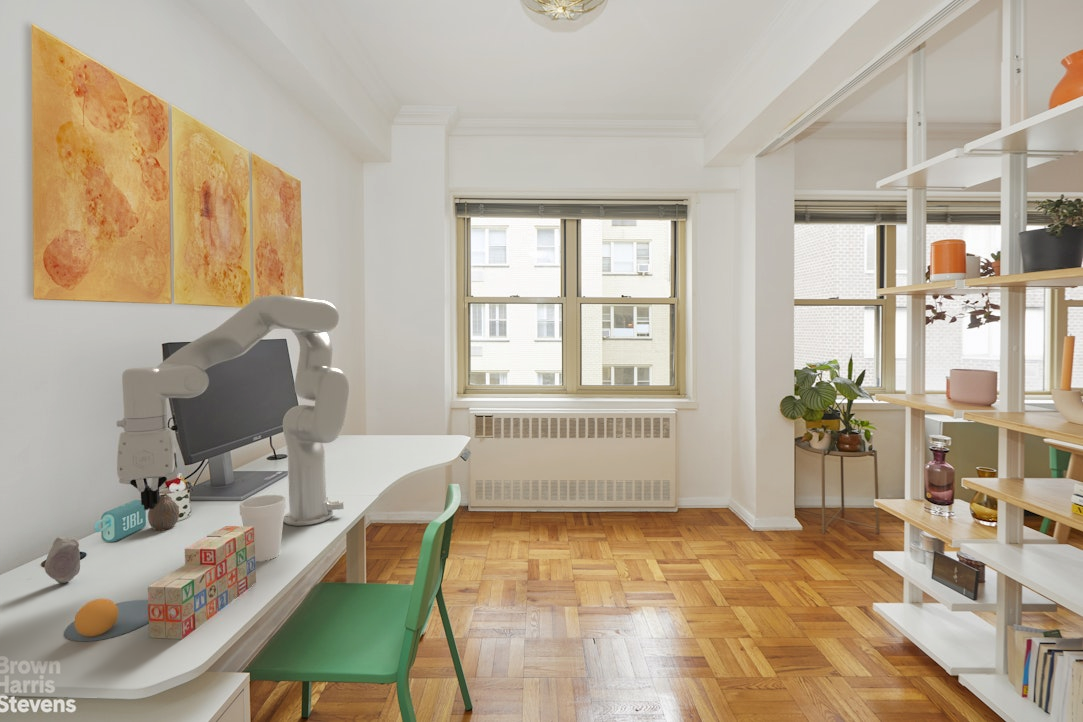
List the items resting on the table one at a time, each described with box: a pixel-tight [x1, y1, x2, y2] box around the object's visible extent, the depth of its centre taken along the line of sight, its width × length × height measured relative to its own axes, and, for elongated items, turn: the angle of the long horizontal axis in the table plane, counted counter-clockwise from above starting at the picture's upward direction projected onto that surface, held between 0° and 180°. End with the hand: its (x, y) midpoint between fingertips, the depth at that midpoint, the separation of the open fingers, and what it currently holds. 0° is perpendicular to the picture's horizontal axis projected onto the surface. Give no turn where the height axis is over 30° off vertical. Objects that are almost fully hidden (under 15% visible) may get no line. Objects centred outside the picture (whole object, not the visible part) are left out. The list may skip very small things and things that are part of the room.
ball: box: [74, 598, 119, 637], centre depth 97 cm, size 6×6×6 cm
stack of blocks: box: [147, 525, 257, 640], centre depth 106 cm, size 21×6×12 cm, turn 175°
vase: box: [147, 493, 180, 531], centre depth 148 cm, size 7×7×9 cm
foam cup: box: [239, 494, 286, 562], centre depth 129 cm, size 10×9×13 cm
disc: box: [64, 599, 149, 643], centre depth 102 cm, size 14×14×1 cm
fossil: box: [44, 536, 81, 584], centre depth 116 cm, size 6×4×10 cm, turn 148°
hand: (150, 507), depth 121 cm, fingers closed
